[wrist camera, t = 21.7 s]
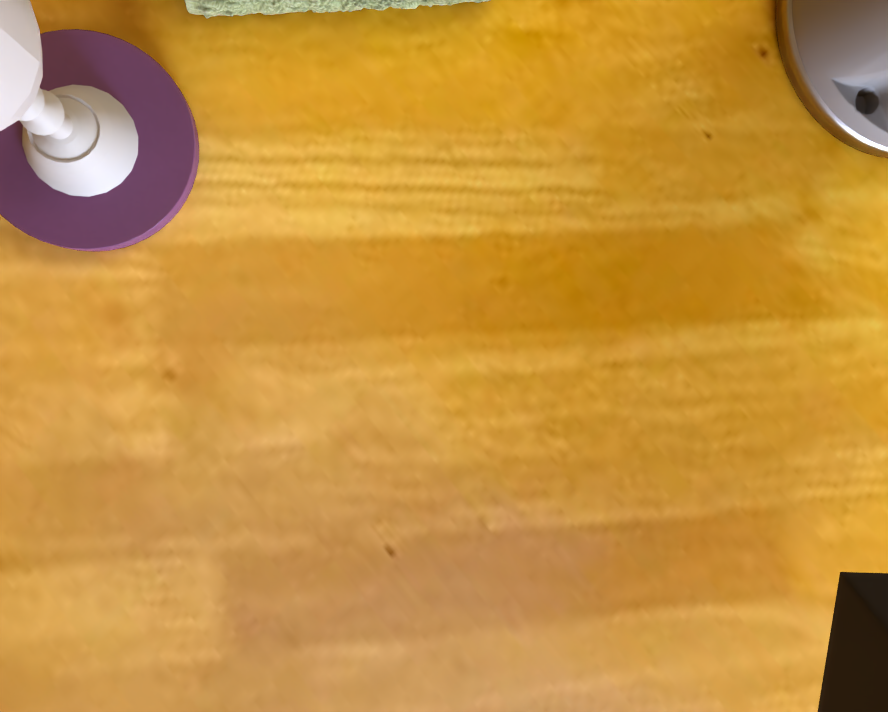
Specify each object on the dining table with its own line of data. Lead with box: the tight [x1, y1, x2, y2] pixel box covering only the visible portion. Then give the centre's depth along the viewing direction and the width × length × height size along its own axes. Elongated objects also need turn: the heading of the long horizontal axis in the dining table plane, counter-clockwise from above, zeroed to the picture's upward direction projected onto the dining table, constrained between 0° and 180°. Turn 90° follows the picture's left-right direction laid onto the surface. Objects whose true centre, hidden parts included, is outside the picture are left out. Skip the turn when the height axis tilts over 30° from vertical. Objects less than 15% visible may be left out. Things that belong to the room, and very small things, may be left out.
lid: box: [0, 29, 199, 251], centre depth 35 cm, size 10×10×1 cm
